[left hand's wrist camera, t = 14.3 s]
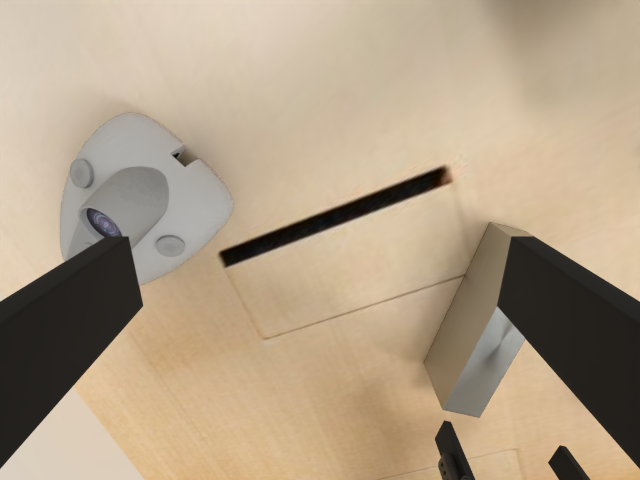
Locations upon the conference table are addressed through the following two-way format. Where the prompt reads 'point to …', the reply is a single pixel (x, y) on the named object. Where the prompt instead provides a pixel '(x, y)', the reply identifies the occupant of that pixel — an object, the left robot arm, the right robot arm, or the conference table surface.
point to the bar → (475, 332)
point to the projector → (141, 196)
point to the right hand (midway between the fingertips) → (500, 442)
